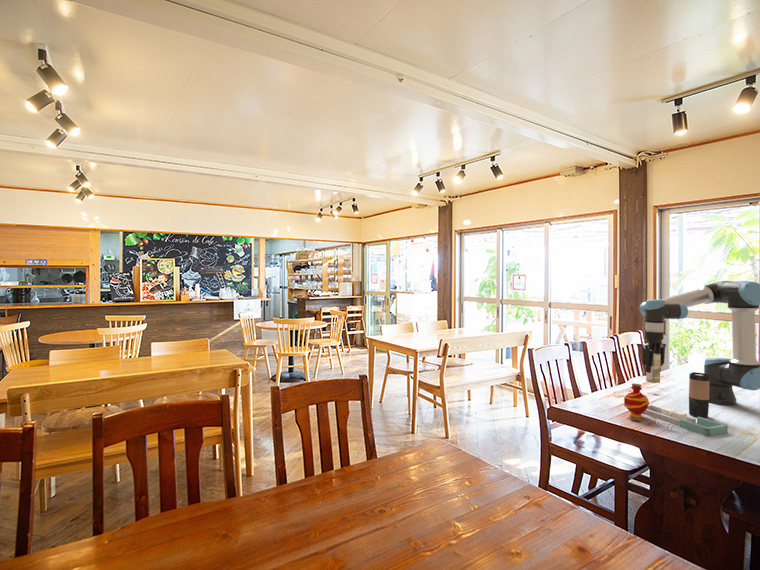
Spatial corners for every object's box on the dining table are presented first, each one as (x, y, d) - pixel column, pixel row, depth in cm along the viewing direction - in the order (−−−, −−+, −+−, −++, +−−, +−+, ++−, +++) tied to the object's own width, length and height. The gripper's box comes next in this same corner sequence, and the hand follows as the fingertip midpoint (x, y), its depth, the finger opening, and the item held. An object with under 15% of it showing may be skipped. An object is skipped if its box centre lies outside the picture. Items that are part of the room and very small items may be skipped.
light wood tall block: (659, 382, 195) (660, 354, 194) (653, 383, 193) (654, 354, 193) (652, 380, 198) (652, 352, 198) (646, 381, 197) (646, 352, 197)
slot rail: (650, 408, 202) (650, 404, 202) (695, 423, 182) (696, 418, 182) (635, 410, 199) (636, 406, 199) (680, 425, 179) (680, 421, 179)
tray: (698, 423, 182) (698, 416, 182) (727, 432, 171) (727, 425, 171) (679, 426, 178) (679, 419, 178) (708, 436, 167) (708, 428, 167)
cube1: (667, 416, 191) (667, 407, 191) (675, 418, 188) (675, 410, 187) (661, 416, 190) (661, 408, 190) (669, 419, 186) (669, 411, 186)
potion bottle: (641, 421, 184) (641, 388, 184) (618, 414, 193) (619, 383, 193) (654, 417, 189) (654, 385, 189) (631, 410, 198) (632, 380, 198)
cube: (677, 419, 187) (677, 411, 186) (686, 422, 183) (686, 413, 183) (671, 420, 185) (671, 411, 185) (680, 423, 182) (680, 414, 181)
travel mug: (712, 418, 187) (713, 376, 187) (693, 417, 189) (694, 375, 189) (702, 413, 195) (703, 372, 195) (685, 412, 197) (685, 371, 196)
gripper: (659, 329, 202) (658, 375, 202) (634, 330, 196) (633, 378, 197) (674, 331, 195) (673, 379, 195) (648, 332, 189) (647, 381, 190)
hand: (653, 378), depth 196 cm, fingers closed on light wood tall block, 4 cm apart
